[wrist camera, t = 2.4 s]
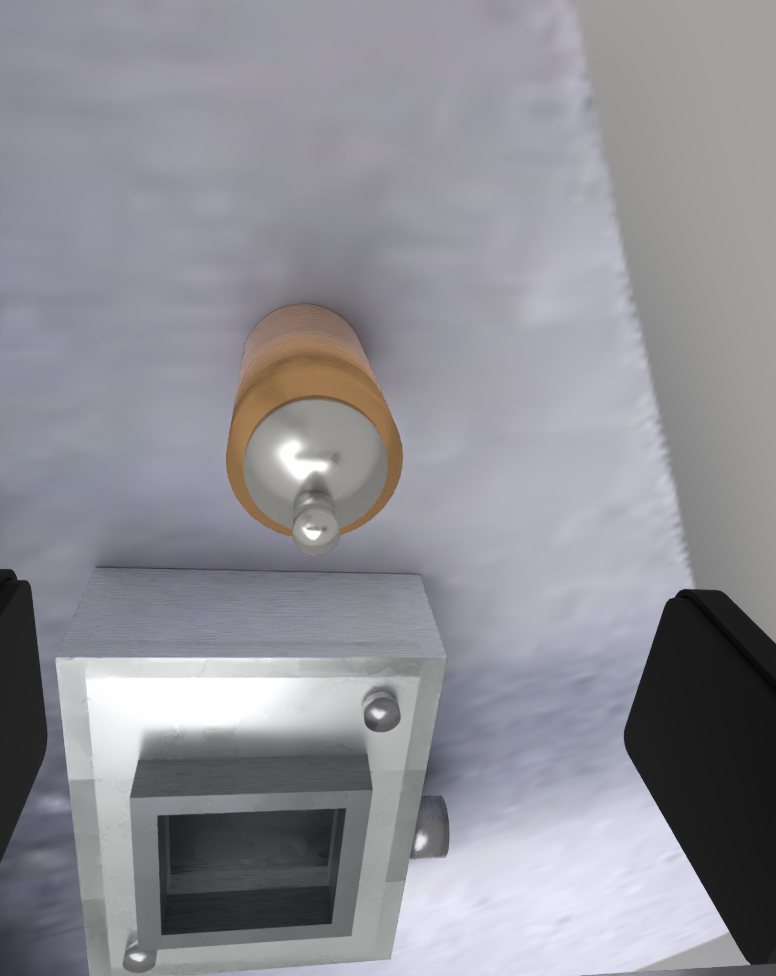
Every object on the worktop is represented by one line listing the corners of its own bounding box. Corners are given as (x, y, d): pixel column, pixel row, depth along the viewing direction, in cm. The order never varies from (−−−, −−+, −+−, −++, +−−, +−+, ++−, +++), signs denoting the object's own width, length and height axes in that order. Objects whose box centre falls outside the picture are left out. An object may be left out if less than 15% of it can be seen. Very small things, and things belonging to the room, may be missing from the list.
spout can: (244, 298, 22) (222, 394, 13) (370, 309, 22) (426, 408, 14) (240, 418, 23) (219, 572, 15) (358, 425, 24) (402, 577, 16)
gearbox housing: (94, 567, 25) (39, 692, 19) (469, 575, 28) (519, 688, 22) (116, 865, 32) (80, 1025, 26) (415, 851, 34) (443, 993, 28)
